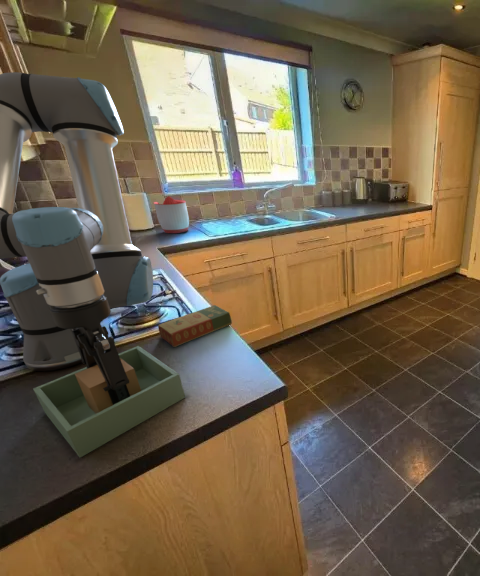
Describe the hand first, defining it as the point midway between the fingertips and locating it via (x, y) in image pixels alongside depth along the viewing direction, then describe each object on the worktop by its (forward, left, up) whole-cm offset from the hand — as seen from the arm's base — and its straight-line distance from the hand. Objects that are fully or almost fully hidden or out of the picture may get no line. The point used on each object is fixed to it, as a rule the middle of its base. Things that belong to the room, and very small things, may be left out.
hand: (116, 402), depth 66 cm
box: (0, 0, 0) cm, 0 cm away
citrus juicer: (-131, +78, -1) cm, 152 cm away
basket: (0, 0, -1) cm, 1 cm away
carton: (-15, +25, -1) cm, 29 cm away
